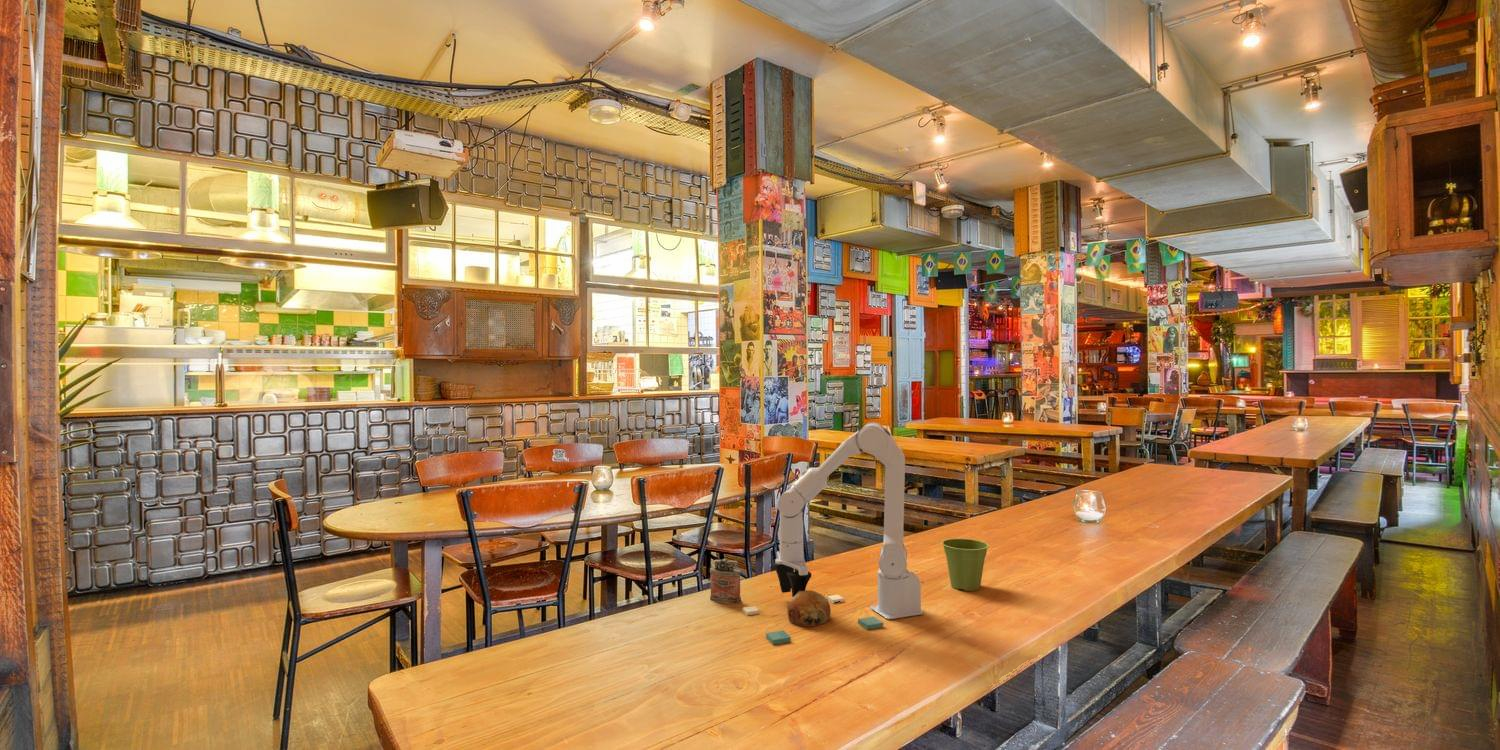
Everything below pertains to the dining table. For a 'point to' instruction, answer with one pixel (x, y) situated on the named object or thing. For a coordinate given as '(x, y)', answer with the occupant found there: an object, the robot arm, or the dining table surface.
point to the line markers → (783, 637)
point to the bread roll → (808, 608)
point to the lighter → (725, 582)
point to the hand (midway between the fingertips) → (791, 596)
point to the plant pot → (965, 562)
